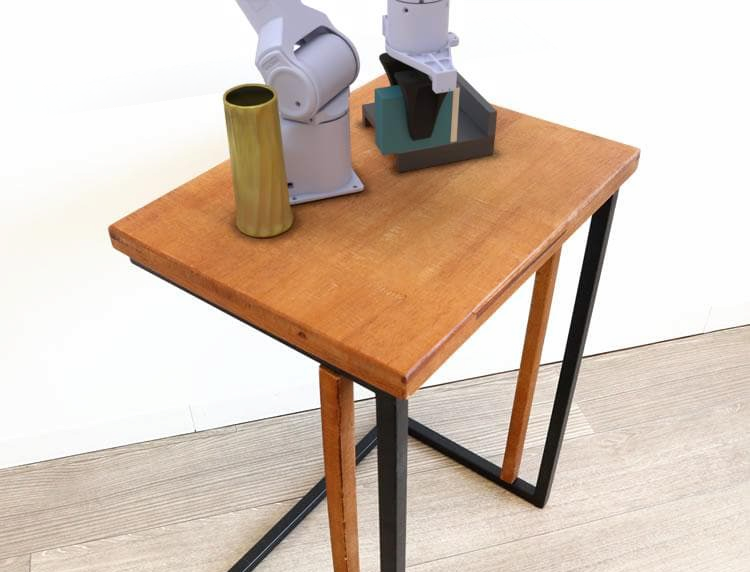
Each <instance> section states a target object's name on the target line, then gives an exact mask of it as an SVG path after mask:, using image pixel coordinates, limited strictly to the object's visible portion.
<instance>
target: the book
mask: <svg viewBox="0 0 750 572" xmlns="http://www.w3.org/2000/svg"><path fill="white" fill-rule="evenodd" d="M459 91H460V88H459V86H458V85H457V84H456V90H454V91H449V92H448V93H447V95H446V97H445V99H444V101H443V103H442V105H441V108H440V110H439V113H438V117H437V120H436V123H435V127H434V130H433V133H432V136H431V138H426V139H421V140H415V141H413V140H412V139H411V138H410V134H409V130H408V125H407V116H406V107H405V102H404V98H403V95H402V92H401V89H400V86H399V85H394V86H390V85H388V86H382V87H377V88H374V102H375V128H374V144H375V146H376V148H377V149H378V151H379V152H380V153H381V154H382V156H387V155H394V154H393V153H399V152H404V151H410V150H415V149H420V148H426V147H431V146H437V145H442V144H448V143H453V142H456V141H457V124H458V108H459Z"/></svg>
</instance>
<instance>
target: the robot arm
mask: <svg viewBox="0 0 750 572" xmlns="http://www.w3.org/2000/svg"><path fill="white" fill-rule="evenodd" d="M234 1H235V3H236V4H237V5H238V7H239V8H240V10H241V12H242V14H243V15H244V16H245V18H246V19H247V21H248V23H249V24H250V25H251V27H252V29H254V31H255V33H256V34H257V45H256V51H255V56H254V66H255V67H256V68H257V70H258V72H259V73H260V75H261V77H262V79H263V81H264V85H268V86H270V87H272V88H273V89H275V91H276V92H277V97H278V109H279V116H280V125H281V135H282V145H283V154H284V162H285V171H286V178H287V185H288V193H289V200H290V206H292V205H293V206H294V205H298V204H303V203H307V202H313V201H317V200H323V199H327V198H332V197H338V196H342V195H347V194H353V193H358V192H362V191H364V190H365V185H364V183H363V182H362V181H361V179H360V178H359V176H358V175H357V173H356V172H355V170H354V168H353V167H352V142H351V112H350V111H351V110H350V109H351V108H350V98H351V85H353V84H354V83H355V82H356V81H357V79H358V77H359V75H360V69H361V60H360V55H359V52H358V50H357V47H356V46H355V44H354V42H353V41H352V40H351V39H350V38H349V37H348V36H347V35H345V34H344V33H343V32H341V31H340V30H338V28H336V26H335V25H334V24H333V23H332V21H331V20H330V18H329V16H328V15H327V14H326V13H324V12H323V11H320V10H318V9H316V8H313V7H310V6H309V5H306V4H304V3H303V1H302V0H234ZM450 2H451V1H450V0H386V14H383V15H382V16H381V18H382V19H381V21H382V22H381V23H382V27H381V29H382V30H381V31H382V35H383V37H384V48H385V52H382V53H381V54H379V56H378V60H379V62H380V64H381V66H382V69H383V70H384V72H385V74H386V77H387V79H388V82H389V86H394V85H399V86H400V89H401V92H402V95H403V98H404V102H405V107H406V116H407V125H408V130H409V134H410V138H411V139H412V140H413V141H415V140H421V139H426V138H431V136H432V133H433V130H434V127H435V123H436V120H437V117H438V113H439V110H440V108H441V105H442V103H443V101H444V99H445V97H446V95H447V93H448V92H449V91H454V90H456V80H457V72H458V70H457V68H456V67H455V66H454V64H453V58H452V48H453V47H455V48H456V47H458V46H459V45H460V37H459V36H458V35H457V34H456V33H454V32H453V31H449V24H450V23H449V22H450ZM295 46H298V47H297V48H296V49H295Z"/></svg>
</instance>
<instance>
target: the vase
mask: <svg viewBox="0 0 750 572" xmlns="http://www.w3.org/2000/svg"><path fill="white" fill-rule="evenodd" d="M222 103H223V111H224V121H225V127H226V135H227V142H228V151H229V159H230V165H231V166H230V168H231V177H232V184H233V192H234V201H235V208H236V219H235V224H236V227H237V229H238V230H239V231H240V232H241V233H243V234H244V235H247V236H248V237H253V238H271V237H275V236H279V235H280V234H282V233H284V232H287V231H288V230H289V229H290V228H291V227H292V226H293V223H294V219H295V217H294V214H293V211H292V207H291V205H290V200H289V193H288V185H287V178H286V171H285V162H284V154H283V145H282V135H281V125H280V116H279V109H278V97H277V92H276V91H275V89H273V88H272V87H270V86H268V85H265V83H253V82H252V83H243V84H239V85H235V86H233V87H230V88H229V89H227V90H225V92H224V93H223V94H222Z"/></svg>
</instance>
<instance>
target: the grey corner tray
mask: <svg viewBox="0 0 750 572" xmlns="http://www.w3.org/2000/svg"><path fill="white" fill-rule="evenodd" d="M456 84H457V85H458V86H459V88H460V91H459V108H458V124H457V141H456V142H453V143H448V144H442V145H437V146H431V147H426V148H420V149H415V150H410V151H404V152H399V153H393V154H392V155H394V157H395V169H396V171H397V172H398V173H399V174H400V173H406V172H411V171H416V170H420V169H425V168H430V167H435V166H442V165H446V164H451V163H456V162H461V161H468V160H471V159H477V158H482V157H487V156H492V155H494V151H495V141H496V129H497V119H498V110H497V109H496V108H495V107H494V106H493V105H492V104H491V103H489V101H488V100H487V99H486V98H485V97H484V96H483V95H481V93H480V92H479V91H478V90H477V89H476V88H475V87H474V86H473V85H471V83H470V82H469V81H468V80H467V79H466V78H464V77H463V76H462V74H461V73H460V72H459V71H457V80H456ZM361 116H362V117H361V118H362V119H361V120H362V122H361V123H362V124H363V126H364V127H370V126H372V127H373V129H375V101H374V102H369V103H364V104H363V103H362V104H361Z"/></svg>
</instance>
